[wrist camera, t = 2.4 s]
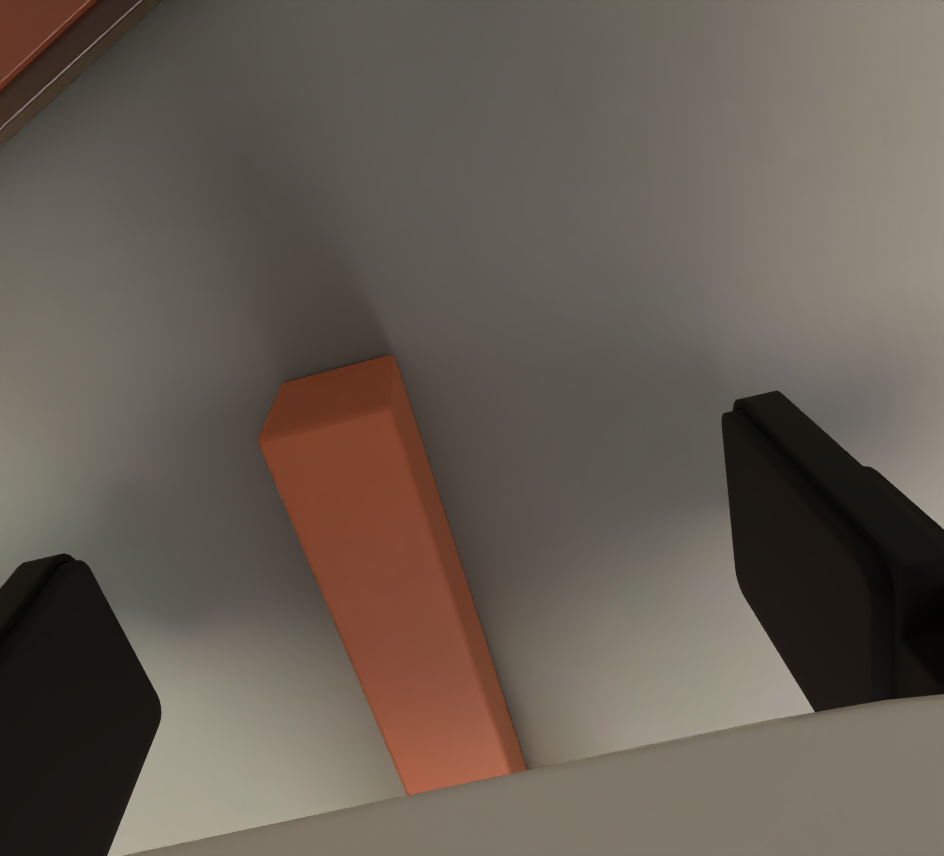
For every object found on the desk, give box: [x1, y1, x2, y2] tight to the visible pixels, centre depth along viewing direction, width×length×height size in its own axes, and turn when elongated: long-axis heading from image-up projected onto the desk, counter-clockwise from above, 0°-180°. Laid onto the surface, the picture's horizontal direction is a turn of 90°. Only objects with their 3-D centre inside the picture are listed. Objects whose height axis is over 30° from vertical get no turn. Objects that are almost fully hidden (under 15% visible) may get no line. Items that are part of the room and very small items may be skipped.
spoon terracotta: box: [258, 355, 527, 795], centre depth 14 cm, size 14×5×2 cm, turn 14°
